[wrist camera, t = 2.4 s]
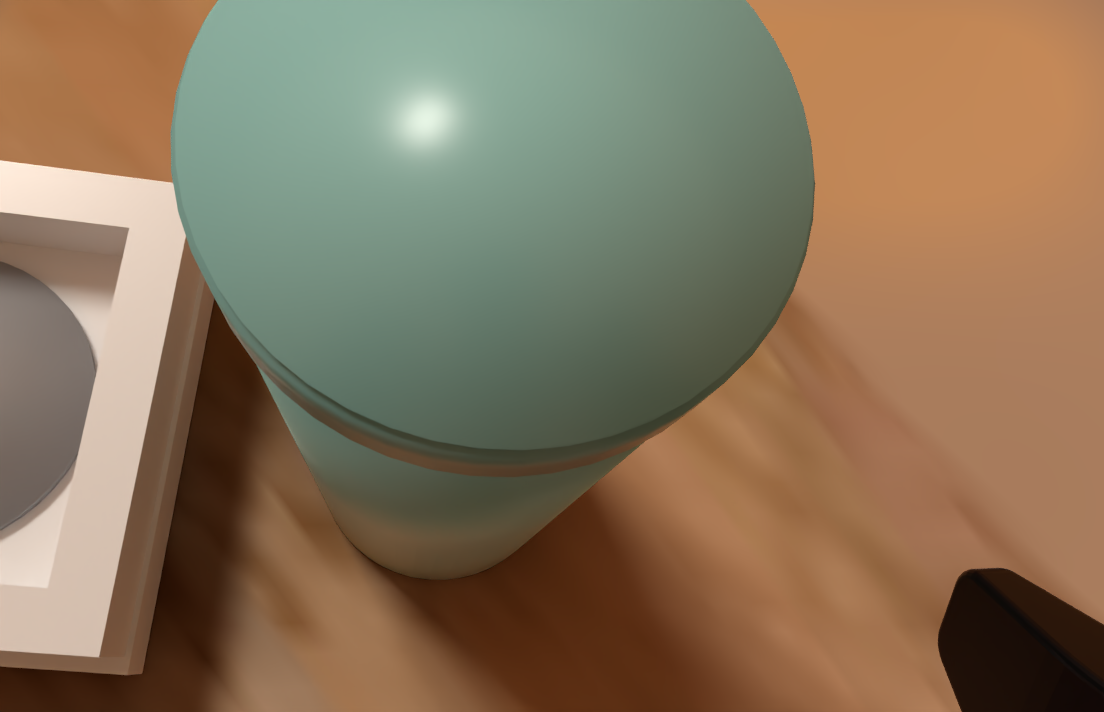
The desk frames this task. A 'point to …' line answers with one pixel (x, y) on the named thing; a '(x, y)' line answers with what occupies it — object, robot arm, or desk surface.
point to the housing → (91, 410)
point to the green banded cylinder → (488, 240)
